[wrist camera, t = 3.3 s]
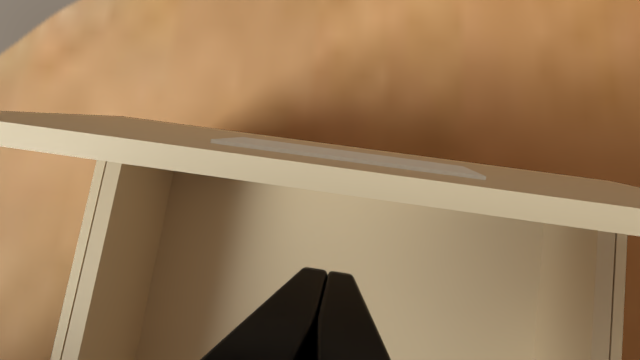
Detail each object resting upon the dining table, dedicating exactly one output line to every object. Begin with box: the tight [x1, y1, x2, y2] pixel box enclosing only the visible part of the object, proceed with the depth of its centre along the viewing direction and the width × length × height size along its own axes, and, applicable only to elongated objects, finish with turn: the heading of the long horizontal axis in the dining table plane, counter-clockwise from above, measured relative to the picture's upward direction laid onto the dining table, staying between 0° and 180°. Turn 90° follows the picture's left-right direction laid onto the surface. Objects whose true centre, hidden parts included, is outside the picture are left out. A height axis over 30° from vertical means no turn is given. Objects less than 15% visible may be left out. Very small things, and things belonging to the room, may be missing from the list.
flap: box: [0, 111, 640, 236], centre depth 12 cm, size 1×15×8 cm, turn 81°
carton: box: [50, 160, 628, 360], centre depth 18 cm, size 12×17×5 cm
